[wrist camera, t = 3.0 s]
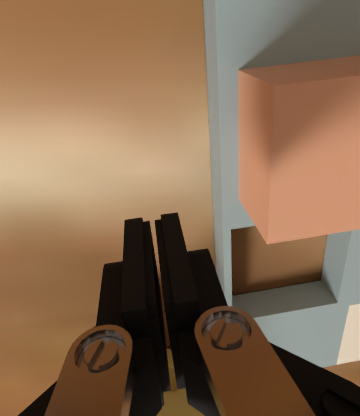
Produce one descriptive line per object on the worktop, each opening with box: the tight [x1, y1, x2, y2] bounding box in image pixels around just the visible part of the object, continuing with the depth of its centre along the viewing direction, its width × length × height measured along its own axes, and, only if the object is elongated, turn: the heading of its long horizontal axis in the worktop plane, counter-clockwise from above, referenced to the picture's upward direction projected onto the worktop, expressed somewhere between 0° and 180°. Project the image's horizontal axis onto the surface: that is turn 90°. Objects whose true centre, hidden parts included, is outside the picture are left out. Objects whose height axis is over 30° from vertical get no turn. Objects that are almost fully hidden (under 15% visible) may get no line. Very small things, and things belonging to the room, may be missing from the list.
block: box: [238, 55, 360, 244], centre depth 16 cm, size 7×7×4 cm
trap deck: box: [203, 0, 360, 367], centre depth 22 cm, size 32×18×2 cm, turn 5°
